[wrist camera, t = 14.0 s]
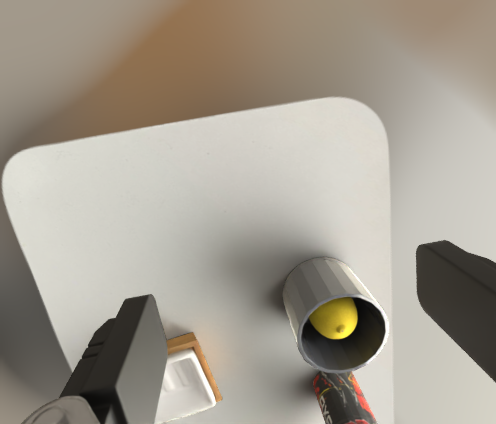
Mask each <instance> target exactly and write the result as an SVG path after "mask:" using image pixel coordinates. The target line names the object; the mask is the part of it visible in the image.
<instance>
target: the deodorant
mask: <svg viewBox="0 0 496 424" xmlns="http://www.w3.org/2000/svg"><path fill="white" fill-rule="evenodd" d="M313 387H314V390H315V393H316V396H317V399H318V402H319V405H320V408H321V411H322V414H323V417H324V420H325V423H326V424H377V422H376V420H375V418H374V416H373V414H372V412H371V410H370V408H369V406H368V404H367V402H366V400H365V398H364V396H363V393H362V391H361V389H360V387H359V385H358V383H357V381H356V379H355V377H354V375H353V374H352V372H345V373H340V374H339V373H327V372H323V371H320V372H319V373H318V374H317V375H316V377H315V379H314V382H313Z"/></svg>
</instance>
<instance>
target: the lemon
mask: <svg viewBox="0 0 496 424" xmlns="http://www.w3.org/2000/svg"><path fill="white" fill-rule="evenodd" d="M309 320H310V321H311V323H312V325H313V326H314V328H315V329H316V330H317V331H318V332H319V333H320V334H322V335H323V336H325V337H327V338H330V339H342V338H345V337H347V336H348V335H350V334H351V333H352V332H353V331H354V329H355V327H356V325H357V320H358V316H357V309H356V306H355V303H354V301H353V299H352V298H351V297H341V298H336V299H332V300H330V301H328V302H326V303H324V304H322V305H320V306H319V307H318V308H317V309H316V310H314V311H313V312H312V313H311V314H310V315H309Z"/></svg>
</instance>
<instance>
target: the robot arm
mask: <svg viewBox="0 0 496 424" xmlns="http://www.w3.org/2000/svg"><path fill="white" fill-rule="evenodd" d="M416 267H417V268H416V273H417V295H418V299H419V302H420V304H421V306H422V308H423V310H424V311H425V312H426V313H427V314H428V315H429V316H430V317H431V318H432V319H433V320H434V321H435V322H436V323H437V324H438V325H439V326H440V327H441V328H442V329H443V330H444V331H445V332H446V333H447V334H448V335H449V336H450V337H451V338H452V339H453V340H454V341H455V342H456V343H457V344H458V345H459V346H460V347H461V348H462V349H463V350H464V351H465V352H466V353H467V354H468V355H469V356H470V357H471V358H472V359H473V360H474V361H475V362H476V363H477V364H478V365H479V366H480V367H481V368H482V369H483V370H484V371H485V372H486V373H487V374H488V375H489V376H490V377H491V378H492V379H493V380H494V381H495V382H496V263H495V262H493V261H491V260H489V259H487V258H484V257H481V256H478V255H474V254H471V253H468V252H466V251H464V250H463V249H461V248H459V247H457V246H455V245H454V244H452V243H451V242H449V241H446V240H443V241H438V242H432V243H427V244H422V245H419V246H418V248H417V251H416ZM167 357H168V349H167V341H166V337H165V333H164V329H163V326H162V322H161V319H160V315H159V312H158V308H157V304H156V301H155V298H154V296H153V295H152V294H149V295H144V296H138V297H133V298H128V299H125V300H124V302H123V304H122V306H121V308H120V310H119V312H118V314H117V316H116V318H112V319H108V320H107V321H106V322H105V323H104V324H103V325H102V326H101V327H100V328H99V329H98V330H97V331H96V332H95V333H94V335H93V337H92V339H91V341H90V342H89V344H88V348H86V350H85V352H84V353H83V355H82V359H80V361H79V362H78V364H77V366H76V368H75V370H74V372H73V373H72V375H71V377H70V379H69V381H68V382H67V384H66V386H65V388H64V390H63V391H62V393H61V395H60V397H59V399H56V400H53V401H51V402H49V403H47V404H45V405H43V406H42V407H40V408H39V409H37V410H36V411H35V412H33V413H32V414H31V415H30V416H29V417H27V418H26V419H25V420H24V421H23V422H22V423H21V424H154V422H155V417H156V412H157V407H158V402H159V397H160V393H161V388H162V383H163V378H164V373H165V368H166V364H167Z"/></svg>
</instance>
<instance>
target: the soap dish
mask: <svg viewBox="0 0 496 424" xmlns="http://www.w3.org/2000/svg"><path fill="white" fill-rule="evenodd" d="M167 349H168V357H167V364H166V368H165V373H164V378H163V383H162V388H161V393H160V397H159V402H158V407H157V412H156V417H155V422H154V424H162V423H166V422H169V421H172V420H176V419H179V418H182V417H186V416H189V415H192V414H195V413H198V412H201V411H204V410H207V409H210V408H212V407H213V406H214V405H215V403H216V402H218V401H221V400H222V396H221V394H220V392H219V390H218V387H217V385H216V383H215V380H214V378H213V376H212V373H211V371H210V369H209V367H208V364H207V362H206V360H205V357H204V355H203V353H202V351H201V348H200V346H199V344H198V341H197V339H196V337H195V335H194V333H193V332H191V333H188V334H185V335H182V336H179V337H176V338H173V339H170V340H167Z"/></svg>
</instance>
